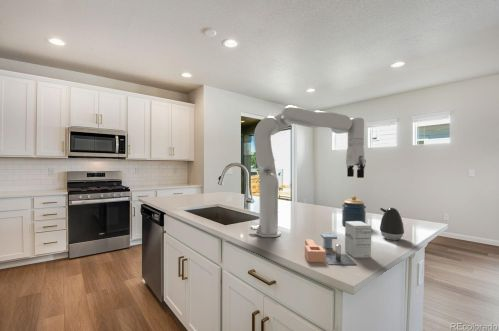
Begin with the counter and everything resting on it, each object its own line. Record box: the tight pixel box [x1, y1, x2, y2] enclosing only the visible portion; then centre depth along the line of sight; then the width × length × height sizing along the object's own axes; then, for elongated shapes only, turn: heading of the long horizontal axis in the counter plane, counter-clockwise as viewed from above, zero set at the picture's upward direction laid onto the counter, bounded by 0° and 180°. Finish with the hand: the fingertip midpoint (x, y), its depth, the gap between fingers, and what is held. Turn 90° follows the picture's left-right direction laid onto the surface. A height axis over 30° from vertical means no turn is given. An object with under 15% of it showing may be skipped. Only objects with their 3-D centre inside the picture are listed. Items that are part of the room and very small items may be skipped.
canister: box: [341, 195, 367, 227], centre depth 144 cm, size 13×13×18 cm
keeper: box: [320, 232, 338, 249], centre depth 105 cm, size 6×6×6 cm
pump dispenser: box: [379, 207, 405, 241], centre depth 120 cm, size 10×10×15 cm
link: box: [304, 238, 327, 263], centre depth 98 cm, size 14×6×4 cm, turn 178°
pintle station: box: [325, 243, 357, 266], centre depth 93 cm, size 10×10×6 cm
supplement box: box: [344, 221, 372, 258], centre depth 99 cm, size 7×7×13 cm
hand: (355, 177), depth 123 cm, fingers open, 9 cm apart
